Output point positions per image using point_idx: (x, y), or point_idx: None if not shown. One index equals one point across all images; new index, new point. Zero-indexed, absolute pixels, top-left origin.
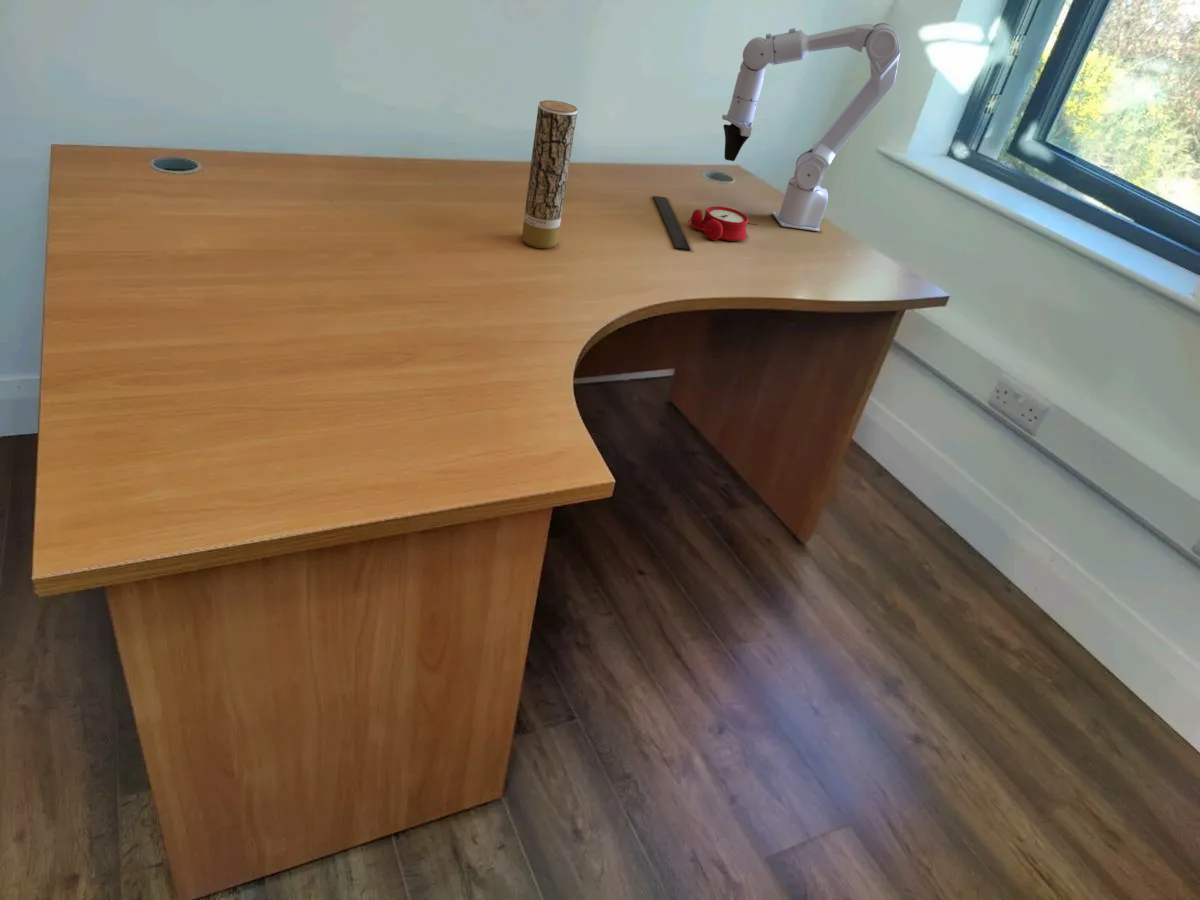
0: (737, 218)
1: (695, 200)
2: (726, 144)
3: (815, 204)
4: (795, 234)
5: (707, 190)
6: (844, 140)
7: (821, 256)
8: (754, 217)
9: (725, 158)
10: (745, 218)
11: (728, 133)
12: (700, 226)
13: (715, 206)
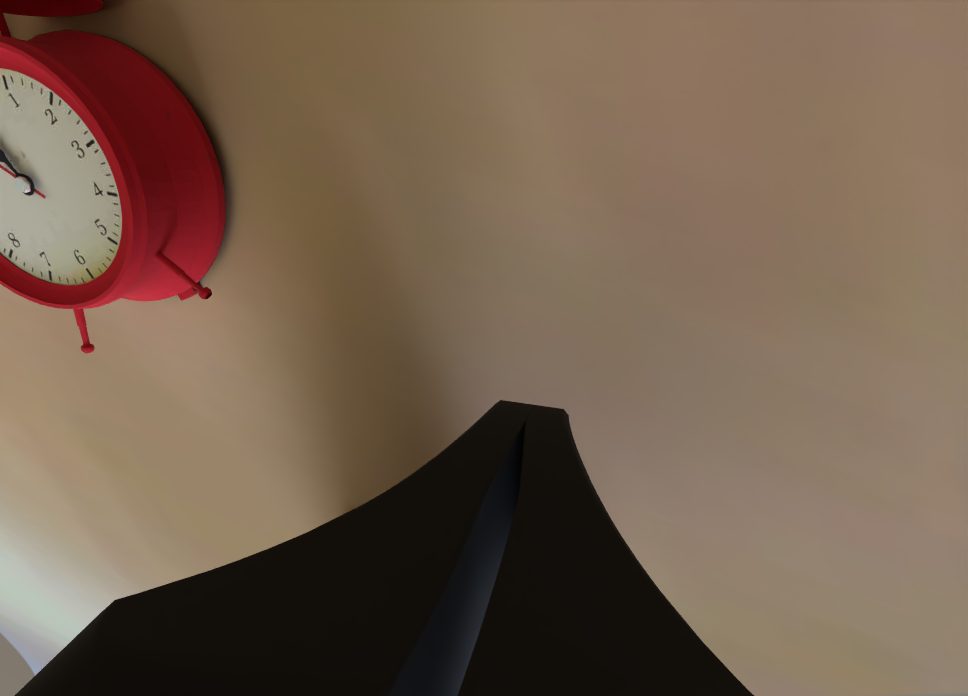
0: (41, 248)
1: (587, 141)
2: (491, 488)
3: None
4: (290, 535)
5: (829, 304)
6: None
7: (124, 531)
8: (419, 438)
9: (507, 403)
10: (56, 296)
11: (117, 602)
12: (5, 11)
13: (106, 137)
